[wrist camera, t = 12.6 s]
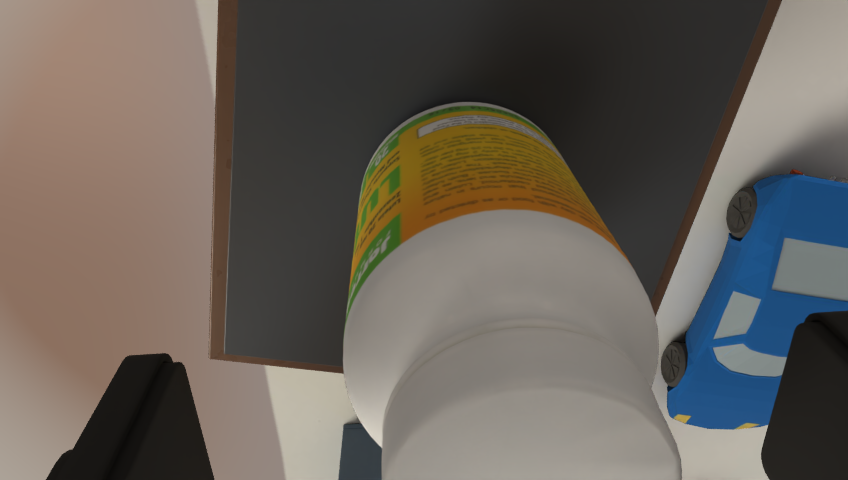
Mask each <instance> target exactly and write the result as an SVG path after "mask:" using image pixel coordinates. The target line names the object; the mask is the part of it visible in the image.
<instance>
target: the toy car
mask: <svg viewBox="0 0 848 480" xmlns="http://www.w3.org/2000/svg"><path fill="white" fill-rule="evenodd" d="M835 180H836V177H833V176H831V177H830V179H828V180H827V179H821V178H816V177H810V176H804V175H803V173H802V172H800V171H798V170H794V169H792V170H791V172H790V174H786V175H775V176H770V177H767V178H764V179H762V180H760V181H758V182H757V183H756V184H755V185H754V186H753V188H754V189H753V188H744V189H741V190H740V191H739V192H738V193H737V194H736V195H735V196H734V197H733V198H732V200H731V202H730V203H729V207H728V210H727V218H726V219H727V225H728V228H729V230H730V232H731V233H729V237H728V242H727V245H726V248H725V251H724V254H723V257H722V260H721V262H720V264H719V267H718V269H717V271H716V273H715V275H714V278H713V280H712V282H711V284H710V286H709V288H708V290H707V292H706V294H705V296H704V299H703V301H702V303H701V305H700V307H699V309H698V311H697V313H696V315H695V317H694V319H693V321H692V323H691V325H690V327H689V330H688V331H687V332H686V344H685V343H677V342H672V343H671V344H669V345H668V346H667V348H666V349H665V351H664V353H663V356H662V360H661V371H662V375H663V378H664V380H665V382H666V383H667V384H668V387H667V391H668V393H667V408H668V412H669V415H670V416H671V417H672V418H673V419H675V420H678V421H680V422H683V423H685V424H689V425H694V426H698V427H703V428H707V429H744V428H753V427H761V426H765V425H769V421H770V417H771V414H772V410H773V407H774V403H775V399H776V396H777V392H778V388H779V385H780V381H781V377H782V374H783V370H784V366H785V363H786V359H787V355H788V352H789V348H790V344H791V341H792V337H793V333H794V330H795V328H796V326H797V325H798V324H801V323H804V321H805V318H806V317H807V316H808V315H809V314H812V313H817V312H833V311H848V183H847V182H848V179H845V178H843V179H842V181H840V182H837V181H835Z"/></svg>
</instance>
